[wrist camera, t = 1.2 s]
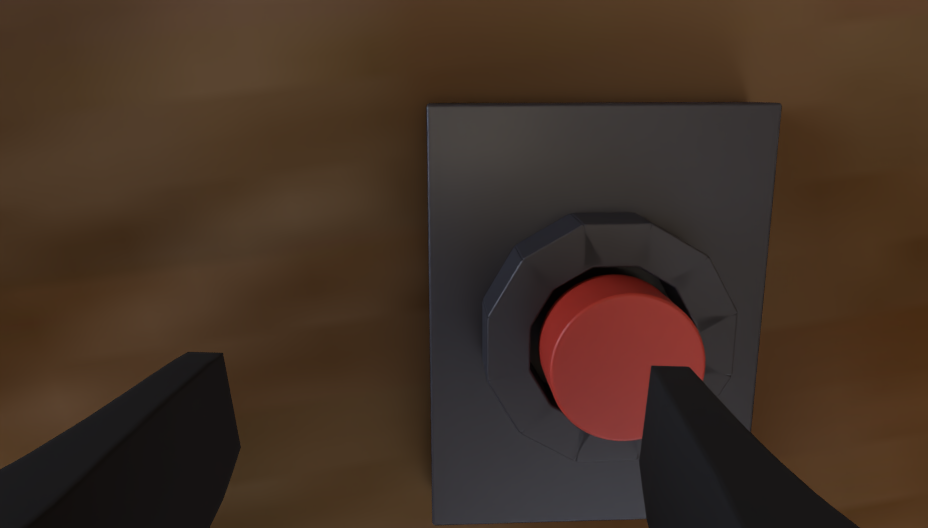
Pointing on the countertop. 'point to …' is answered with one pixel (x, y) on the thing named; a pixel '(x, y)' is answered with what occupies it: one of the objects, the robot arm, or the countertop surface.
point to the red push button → (613, 351)
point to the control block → (580, 280)
